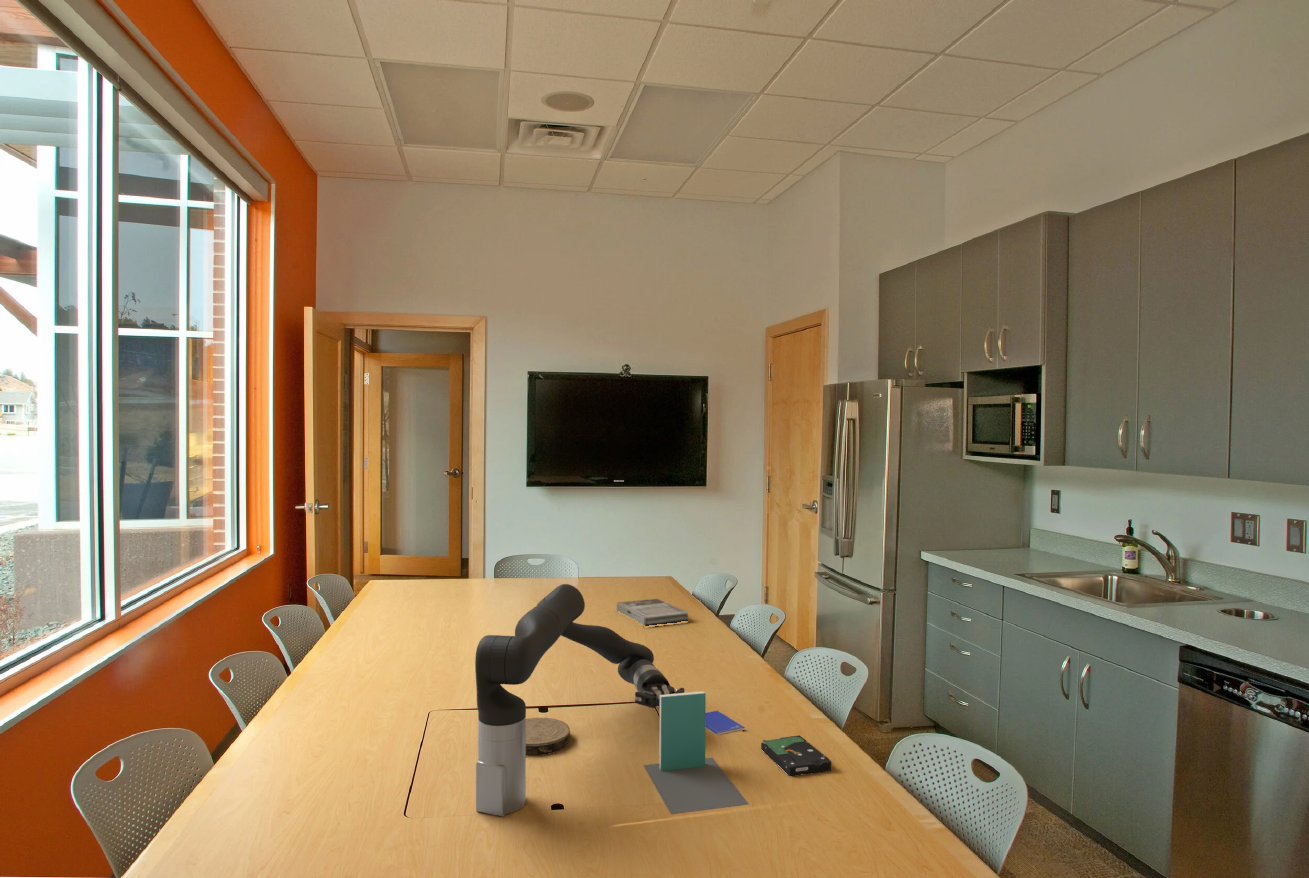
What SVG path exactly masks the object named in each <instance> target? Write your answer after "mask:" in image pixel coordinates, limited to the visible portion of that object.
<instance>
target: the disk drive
mask: <svg viewBox="0 0 1309 878" xmlns="http://www.w3.org/2000/svg"><path fill="white" fill-rule="evenodd" d="M760 749H762V750H763V751H764V752H765V753H766V754H767V755H768V756H769V757H768V756H767V755H766V754H765V753H764V752H763V751H762V750H761V751H762V752H763V753H764V754H765V755H766V756H767V757H768V758H769V759H771V760H772V761H773V763H775V762H776V763H777V764H778V765H779V766H780V767H781V768H782V769H783V770H784V771H785V772H786V773H787V774H788V775H787V774H786V773H785V772H784V771H783V770H782V769H781V768H780V767H779V766H778V765H777V764H776V763H775V764H776V765H777V766H778V767H779V768H780V769H781V770H782V771H783V772H784V773H785V774H786V775H787V776H789V777H790V776H792V777H796V776H795V775H799V776H802V775H801V774H806V775H811V773H813V774H819V772H820V773H826V771H827V772H831V771H832V760H830V759H829V758H828V757H827V756H826V755H825V754H823V753H822V751H820V750H818V749H817V748H816V747H815V746H813V744H811V743H810V742H808V740H806V739H805V738H804V737H802V735H792V736H781V737H780V738H773V739H768V740H765V739H762V742H761V743H760Z"/></svg>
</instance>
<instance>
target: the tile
mask: <svg viewBox="0 0 1309 878" xmlns="http://www.w3.org/2000/svg"><path fill="white" fill-rule="evenodd" d="M706 694H707V693H706V692H705V691H704V690H703V691H701V690H700V691H690V692H684V693H678V694H666V695H660V708H659V729H658V730H659V731H658V732H659V739H658V741H659V743H658V744H659V745H658V746H659V747H658V748H659V751H658V752H659V753H658V755H659V760H658V761H659V763H658V764H659V768H660V770H661V771H666V770H675V769H684V768H693V767H701V766H705V758H706V727H705V713H706V702H707V701H706V696H707V695H706Z"/></svg>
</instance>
